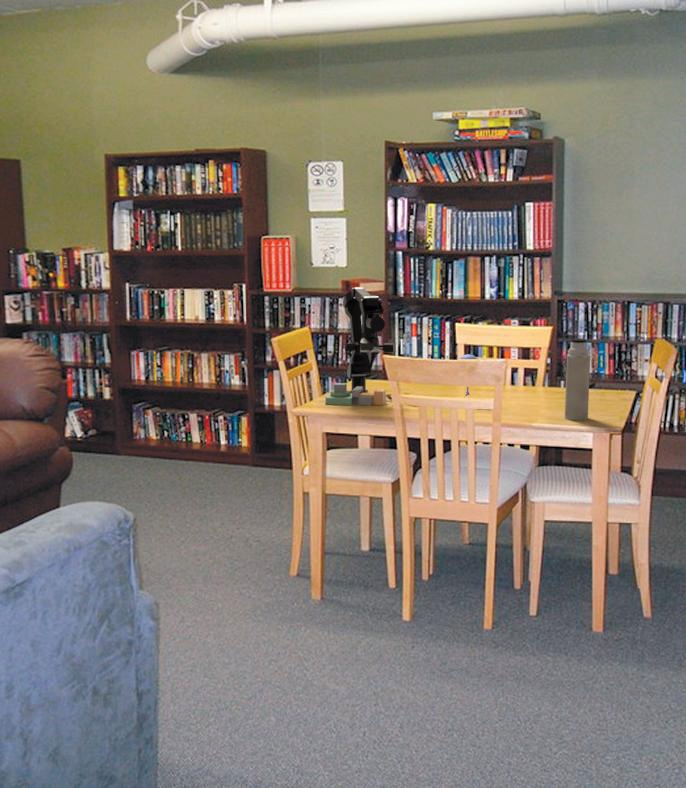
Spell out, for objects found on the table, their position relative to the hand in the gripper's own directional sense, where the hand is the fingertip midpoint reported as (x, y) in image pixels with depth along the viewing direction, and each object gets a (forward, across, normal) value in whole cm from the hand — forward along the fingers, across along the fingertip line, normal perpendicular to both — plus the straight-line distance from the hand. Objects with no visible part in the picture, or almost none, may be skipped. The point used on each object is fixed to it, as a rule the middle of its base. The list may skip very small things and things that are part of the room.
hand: (370, 369), depth 411 cm
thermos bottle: (+12, +78, -20) cm, 81 cm away
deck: (+12, -6, -6) cm, 15 cm away
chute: (+12, +1, -6) cm, 13 cm away
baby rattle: (+12, +37, +6) cm, 39 cm away
